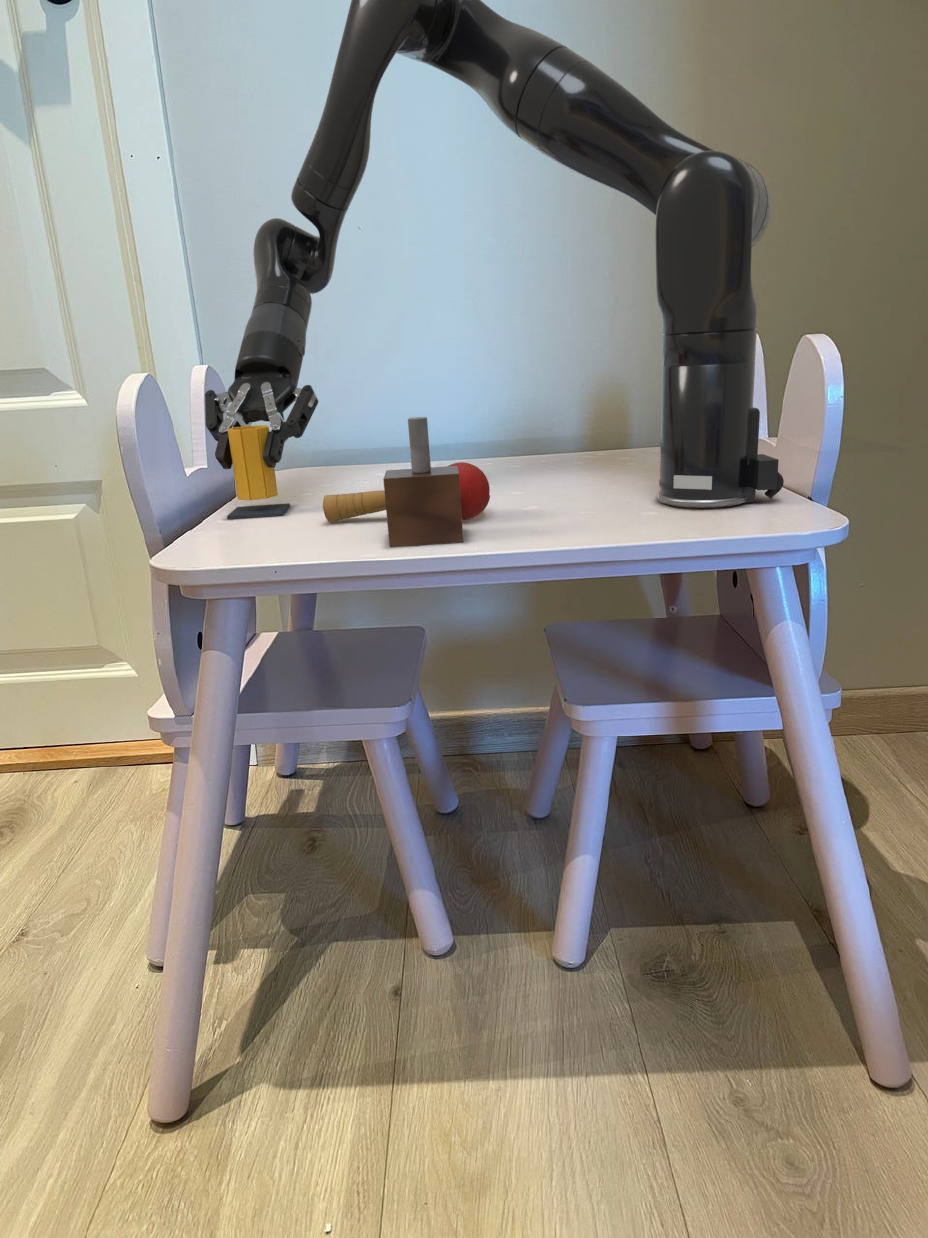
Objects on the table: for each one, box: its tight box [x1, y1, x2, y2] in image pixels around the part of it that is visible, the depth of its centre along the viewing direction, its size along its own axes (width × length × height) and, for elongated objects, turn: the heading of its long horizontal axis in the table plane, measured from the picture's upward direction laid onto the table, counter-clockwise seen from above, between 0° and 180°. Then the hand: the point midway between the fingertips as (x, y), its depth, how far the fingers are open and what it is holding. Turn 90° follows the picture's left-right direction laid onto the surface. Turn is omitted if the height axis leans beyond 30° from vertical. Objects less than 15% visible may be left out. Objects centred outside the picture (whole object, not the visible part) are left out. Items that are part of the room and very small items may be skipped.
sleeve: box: [227, 424, 279, 501], centre depth 97 cm, size 5×5×8 cm
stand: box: [383, 416, 464, 548], centre depth 79 cm, size 7×5×12 cm
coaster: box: [226, 502, 291, 520], centre depth 98 cm, size 6×6×1 cm
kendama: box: [322, 461, 491, 523], centre depth 88 cm, size 8×6×18 cm
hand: (246, 463), depth 95 cm, fingers closed on sleeve, 5 cm apart
